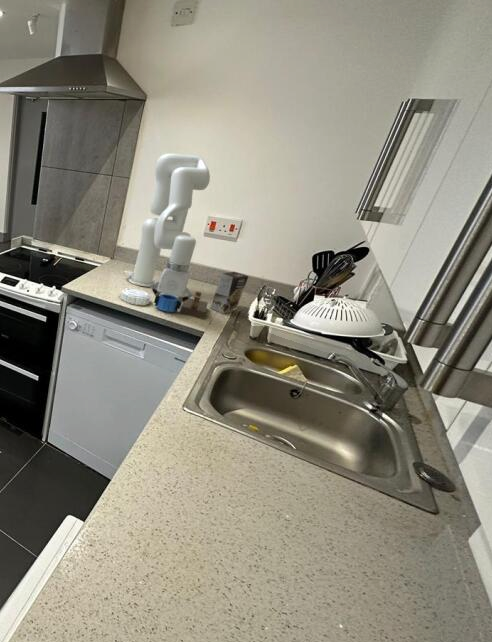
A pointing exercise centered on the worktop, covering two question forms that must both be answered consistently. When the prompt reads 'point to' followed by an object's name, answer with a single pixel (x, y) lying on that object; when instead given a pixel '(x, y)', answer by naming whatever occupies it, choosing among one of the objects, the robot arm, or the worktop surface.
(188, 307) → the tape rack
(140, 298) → the mooncake
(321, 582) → the worktop surface
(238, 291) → the coffee box
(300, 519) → the worktop surface
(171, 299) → the blue ribbed cylinder
